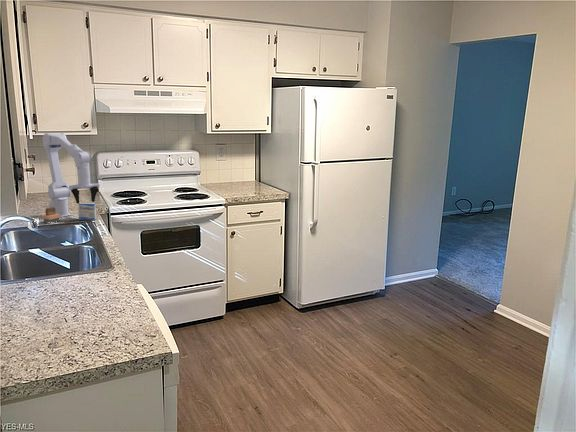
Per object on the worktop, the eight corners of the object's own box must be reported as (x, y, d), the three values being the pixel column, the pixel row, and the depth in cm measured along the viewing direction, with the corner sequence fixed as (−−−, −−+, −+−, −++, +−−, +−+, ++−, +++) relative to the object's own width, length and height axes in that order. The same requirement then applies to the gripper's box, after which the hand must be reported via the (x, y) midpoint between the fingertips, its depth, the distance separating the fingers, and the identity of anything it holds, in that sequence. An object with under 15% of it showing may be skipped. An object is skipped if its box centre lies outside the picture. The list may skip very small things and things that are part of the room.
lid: (41, 218, 230) (40, 208, 229) (52, 215, 236) (51, 206, 235) (49, 219, 227) (48, 209, 226) (61, 217, 233) (60, 207, 232)
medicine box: (78, 220, 236) (78, 203, 234) (80, 218, 240) (79, 202, 238) (94, 220, 238) (94, 204, 236) (96, 218, 242) (95, 202, 240)
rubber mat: (57, 220, 235) (57, 220, 235) (69, 218, 241) (69, 217, 241) (67, 222, 232) (67, 221, 232) (80, 219, 238) (80, 219, 238)
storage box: (43, 222, 231) (43, 216, 230) (52, 220, 235) (52, 214, 235) (50, 223, 229) (50, 217, 228) (59, 221, 233) (58, 215, 233)
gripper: (71, 178, 222) (73, 205, 225) (101, 175, 232) (102, 202, 235) (66, 176, 227) (68, 203, 230) (95, 174, 237) (97, 200, 240)
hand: (85, 202), depth 233 cm, fingers open, 7 cm apart
